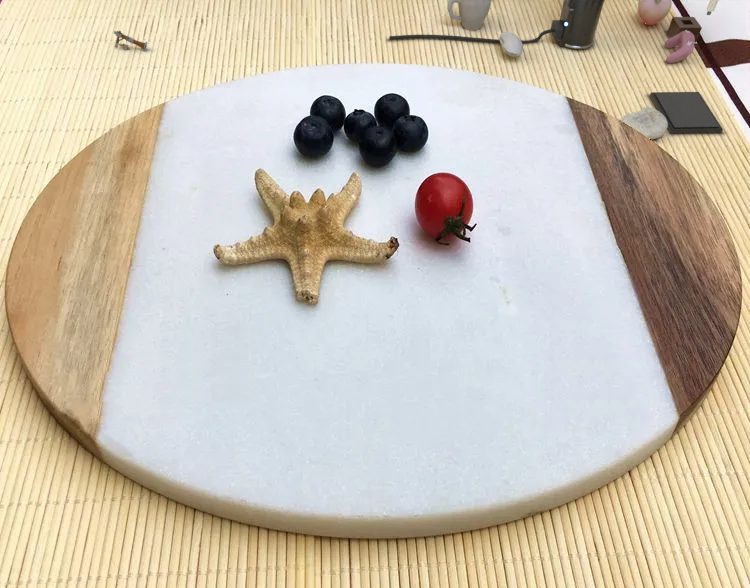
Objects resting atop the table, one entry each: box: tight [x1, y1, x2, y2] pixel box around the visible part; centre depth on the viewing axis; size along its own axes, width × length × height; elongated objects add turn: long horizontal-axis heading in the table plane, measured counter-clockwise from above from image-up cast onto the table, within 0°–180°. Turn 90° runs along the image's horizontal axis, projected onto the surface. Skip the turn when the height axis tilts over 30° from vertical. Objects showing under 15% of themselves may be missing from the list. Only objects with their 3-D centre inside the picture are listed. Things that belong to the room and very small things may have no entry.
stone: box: [498, 31, 524, 58], centre depth 172 cm, size 10×5×5 cm, turn 15°
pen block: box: [666, 16, 703, 44], centre depth 181 cm, size 6×6×4 cm
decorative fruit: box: [637, 0, 673, 26], centre depth 182 cm, size 9×8×10 cm
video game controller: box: [663, 30, 696, 64], centre depth 174 cm, size 10×5×7 cm, turn 168°
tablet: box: [649, 91, 724, 135], centre depth 159 cm, size 12×16×1 cm
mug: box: [446, 0, 492, 31], centre depth 180 cm, size 12×9×10 cm
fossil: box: [620, 105, 668, 141], centre depth 154 cm, size 11×4×10 cm
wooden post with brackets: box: [113, 30, 148, 52], centre depth 171 cm, size 2×8×4 cm, turn 88°
